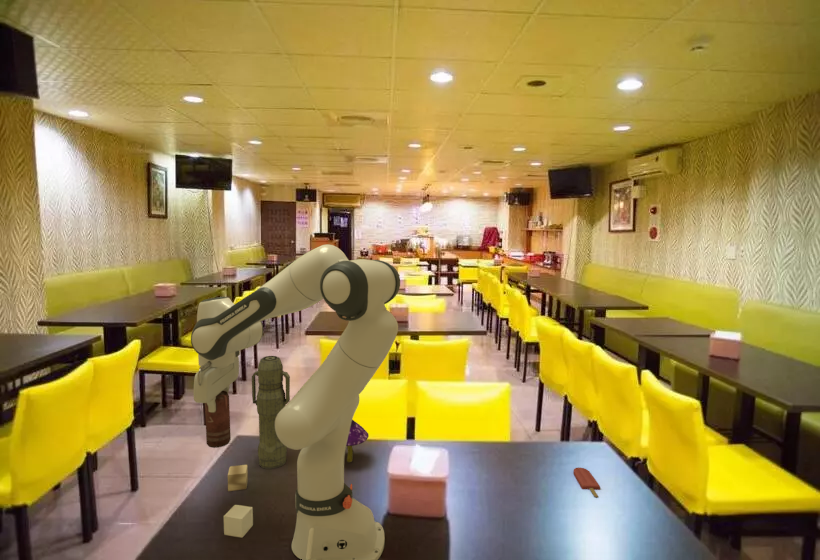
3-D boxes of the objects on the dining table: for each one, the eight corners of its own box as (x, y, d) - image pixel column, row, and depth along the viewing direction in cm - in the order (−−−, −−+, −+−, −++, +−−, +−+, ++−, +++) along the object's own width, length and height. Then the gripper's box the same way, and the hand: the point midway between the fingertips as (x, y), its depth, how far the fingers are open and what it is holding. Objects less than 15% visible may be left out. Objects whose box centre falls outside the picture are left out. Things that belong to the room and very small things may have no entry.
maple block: (247, 480, 141) (247, 464, 141) (246, 489, 136) (245, 473, 136) (230, 482, 140) (229, 466, 139) (228, 491, 135) (227, 475, 135)
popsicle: (587, 493, 134) (570, 466, 149) (586, 498, 134) (570, 471, 149) (606, 494, 134) (587, 467, 149) (605, 499, 134) (587, 471, 149)
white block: (253, 525, 120) (252, 507, 120) (242, 537, 115) (241, 519, 115) (235, 522, 121) (234, 504, 121) (224, 535, 116) (223, 516, 116)
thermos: (289, 468, 148) (287, 361, 144) (251, 469, 147) (248, 362, 143) (293, 454, 157) (291, 353, 153) (257, 456, 156) (254, 354, 152)
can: (222, 449, 123) (220, 398, 122) (201, 446, 125) (199, 396, 123) (236, 439, 129) (234, 390, 128) (215, 437, 131) (213, 388, 129)
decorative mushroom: (328, 455, 157) (328, 412, 155) (365, 450, 160) (365, 409, 158) (332, 474, 145) (331, 428, 143) (371, 469, 148) (372, 424, 146)
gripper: (210, 368, 114) (212, 422, 116) (242, 347, 134) (244, 393, 136) (185, 368, 114) (187, 422, 116) (220, 346, 134) (222, 393, 136)
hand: (218, 406), depth 126 cm, fingers closed on can, 5 cm apart
